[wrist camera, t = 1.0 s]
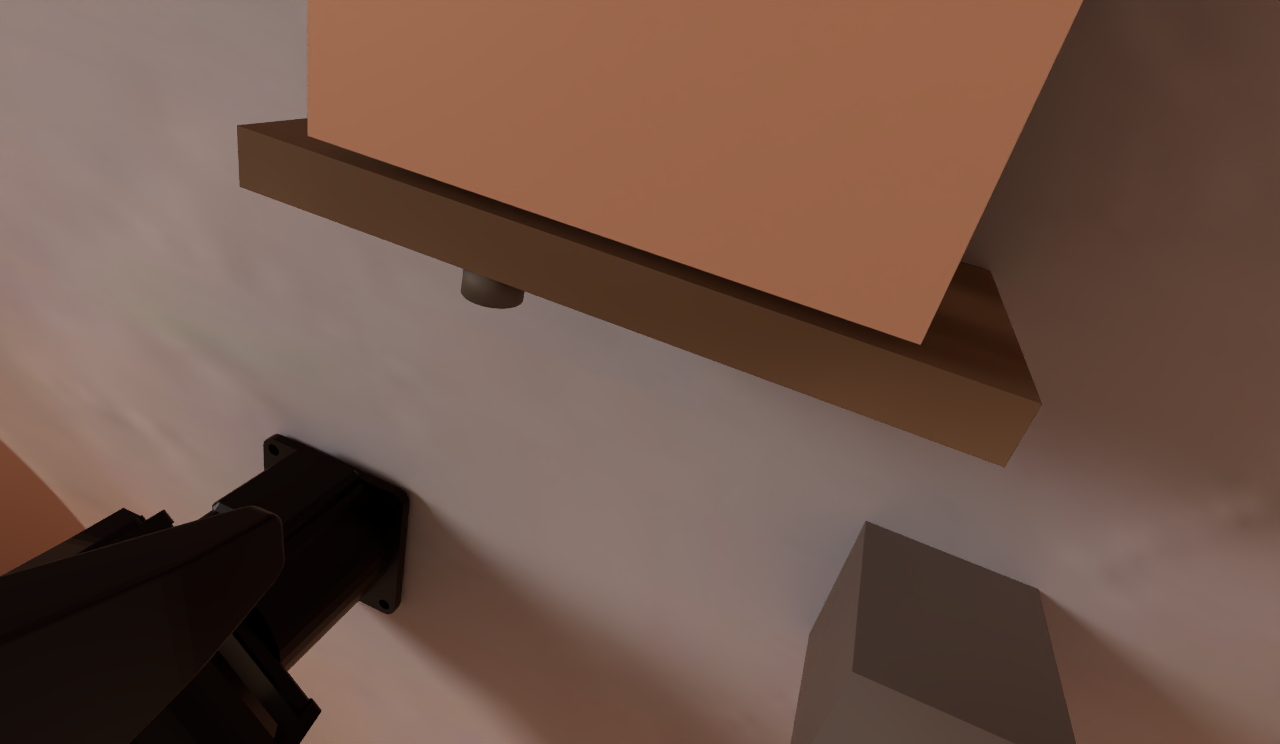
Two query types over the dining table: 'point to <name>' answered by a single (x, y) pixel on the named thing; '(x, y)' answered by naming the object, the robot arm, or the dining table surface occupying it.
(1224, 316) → the dining table surface
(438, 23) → the trapdoor
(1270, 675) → the dining table surface
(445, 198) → the trapdoor frame
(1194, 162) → the dining table surface
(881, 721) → the taupe matte cube
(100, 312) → the dining table surface
